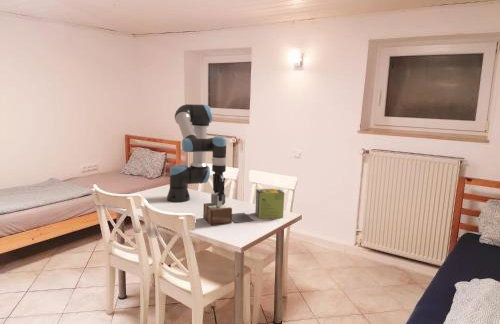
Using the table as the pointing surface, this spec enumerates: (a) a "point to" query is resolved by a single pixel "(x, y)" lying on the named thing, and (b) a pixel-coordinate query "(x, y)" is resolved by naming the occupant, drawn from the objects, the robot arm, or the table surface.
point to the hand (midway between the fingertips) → (218, 205)
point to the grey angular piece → (214, 201)
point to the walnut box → (217, 215)
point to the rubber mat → (241, 218)
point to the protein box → (269, 203)
